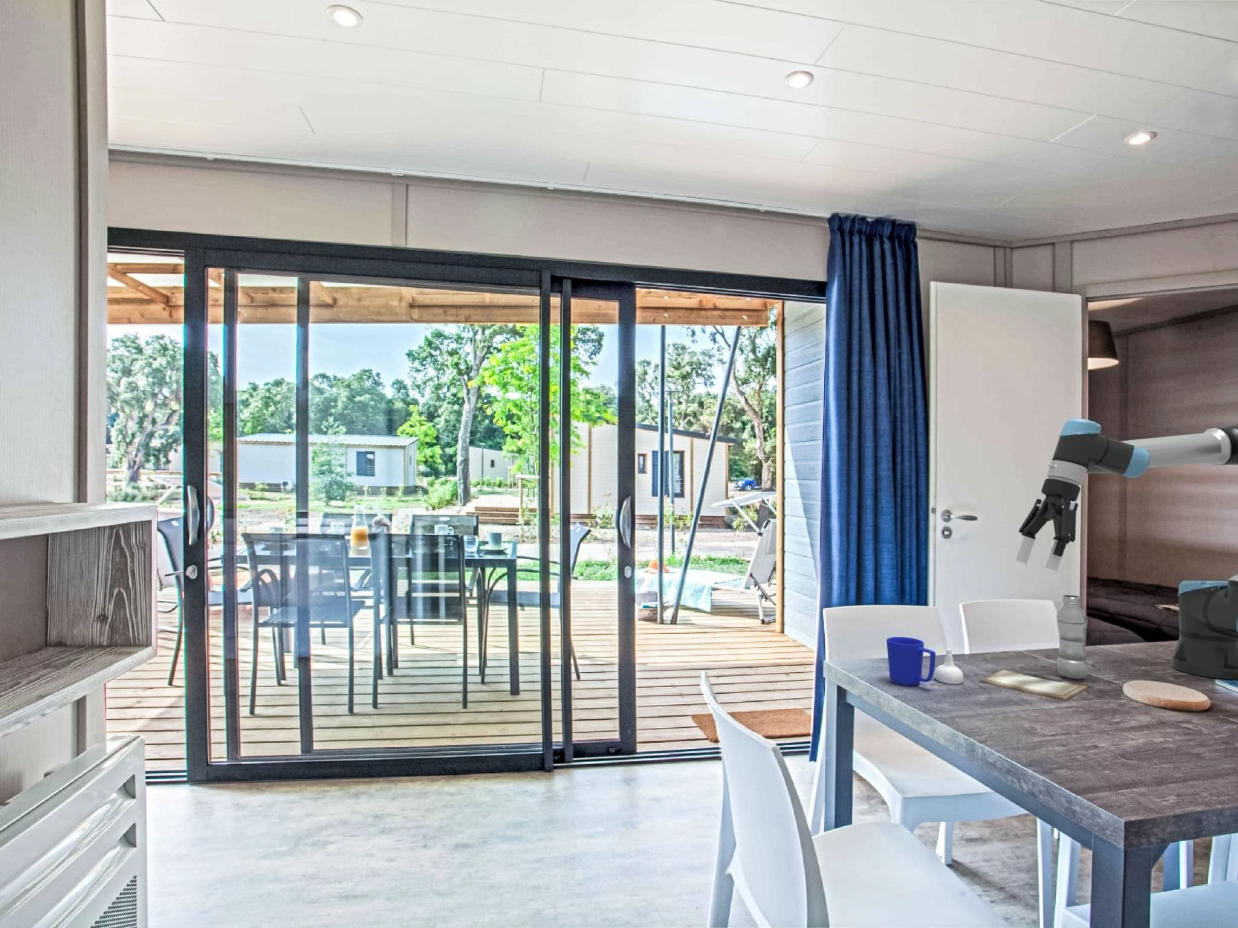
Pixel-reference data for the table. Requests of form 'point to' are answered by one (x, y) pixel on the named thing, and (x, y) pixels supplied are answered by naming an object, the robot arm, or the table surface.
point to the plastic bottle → (1072, 639)
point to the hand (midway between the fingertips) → (1034, 565)
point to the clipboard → (1035, 684)
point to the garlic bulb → (949, 671)
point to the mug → (908, 660)
